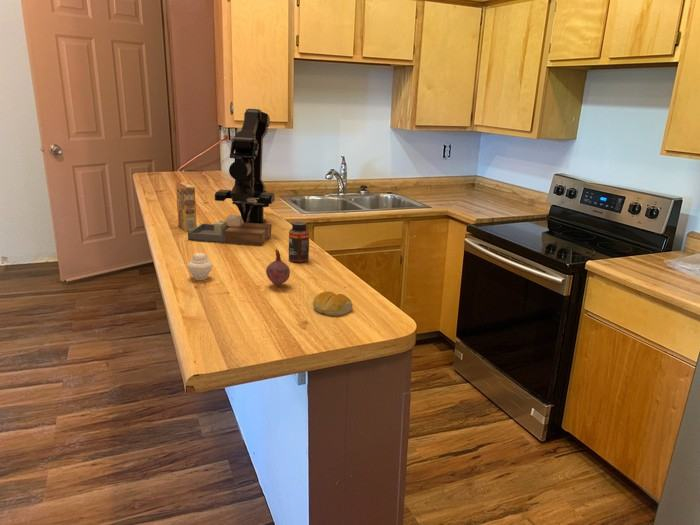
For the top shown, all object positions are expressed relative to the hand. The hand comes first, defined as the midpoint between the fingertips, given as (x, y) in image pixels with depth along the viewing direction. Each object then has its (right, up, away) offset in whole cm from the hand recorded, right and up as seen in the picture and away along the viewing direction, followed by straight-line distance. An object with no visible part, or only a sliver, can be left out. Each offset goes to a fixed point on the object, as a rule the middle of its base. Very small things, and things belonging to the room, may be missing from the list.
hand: (245, 222), depth 179 cm
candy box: (-22, -2, +7) cm, 23 cm away
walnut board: (+1, -6, -2) cm, 6 cm away
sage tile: (-6, -3, -2) cm, 7 cm away
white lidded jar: (-4, -18, -40) cm, 44 cm away
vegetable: (+17, -20, -42) cm, 49 cm away
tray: (-11, -5, -1) cm, 12 cm away
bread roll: (+31, -25, -54) cm, 67 cm away
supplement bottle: (+20, -13, -20) cm, 31 cm away
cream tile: (-3, -1, 0) cm, 3 cm away
